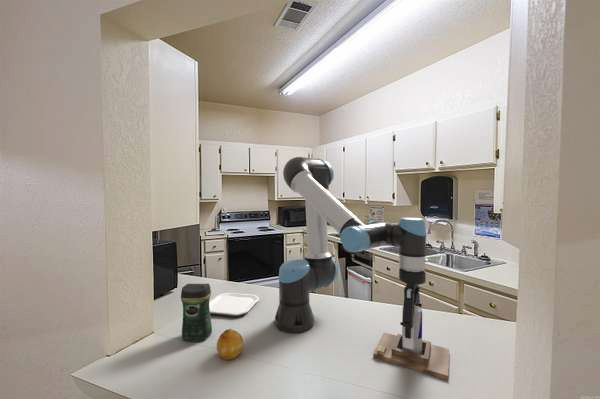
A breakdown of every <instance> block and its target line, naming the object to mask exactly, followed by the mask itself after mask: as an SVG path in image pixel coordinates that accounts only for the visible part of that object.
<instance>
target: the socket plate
mask: <svg viewBox="0 0 600 399" xmlns="http://www.w3.org/2000/svg"><path fill="white" fill-rule="evenodd" d="M401 347H402V333H401V334H400V333H397V334H392V333H389V332H385V331H384V332H383V333H382V334H381V337H380V339H379V341H378V343H377V346H376V347H375V349H374V351H373V354H372V355H373V358H375V359H379V360H381V361H385V362H388V363H391V364H394V365H398V366H400V367H404V368H407V369H411V370H414V371H417V372H421V373H423V374H427V375H430V376H433V377H435V378H436V377H437V378H440V379H443V380H447V381H449V371H450V370H449V369H450V368H449V366H450V364H449V363H450V360H449V359H450V348H447V347H443V346H439V345H435V344H432V341H429V340H425V339H422V352H424V354H422V355H420V354H416V353H412V352H409V351H405V350H402V348H401Z"/></svg>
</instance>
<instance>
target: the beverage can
mask: <svg viewBox="0 0 600 399" xmlns="http://www.w3.org/2000/svg"><path fill="white" fill-rule="evenodd" d="M403 306H404V304H403V305H402V307H403ZM401 311H402V313H401V314H402V315H401V316H402V319H403V309H402V310H401ZM401 326H402V325H401ZM413 326H414V349H409V348H405V347H403V326H402V327H401V328H402V331H401V332H402V333H401V335H402V345H401V347H402V348H401V349H402V350H405V351H409V352H412V353H416V354H420V355H423V351H422V340H423V308H422V307H418V306H416V305H415V307H414V318H413Z"/></svg>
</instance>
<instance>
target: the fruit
mask: <svg viewBox="0 0 600 399" xmlns="http://www.w3.org/2000/svg"><path fill="white" fill-rule="evenodd" d="M243 348H244V338H243V336H242V334H240V333H239V332H238V331H236V330H235V329H232V328H229V329H226V330H224V331H223V332H222V333H221V334H220V335H219V337H218V339H217V340H216V351H217V353H218V356H219V357H220V358H221V359H223V360H233V359H235V358H237V357H238V356H239V355H240V354H241V353H242V350H243Z"/></svg>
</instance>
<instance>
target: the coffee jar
mask: <svg viewBox="0 0 600 399" xmlns="http://www.w3.org/2000/svg"><path fill="white" fill-rule="evenodd" d="M211 296H212V290H211V286H210V283H186V284H185V285H184V286H183V287H182V288H181V292H180V301H181V303H182V324H181V325H182V326H181V327H182V328H181V338H182V340H183V341H185V342H201V341H205V340H206V339H208V338H209V337H210V336H211V334H212V332H213V328H212V327H213V326H212V325H213V324H212V317H211V314H210V309H209V302H210V298H211Z"/></svg>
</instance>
